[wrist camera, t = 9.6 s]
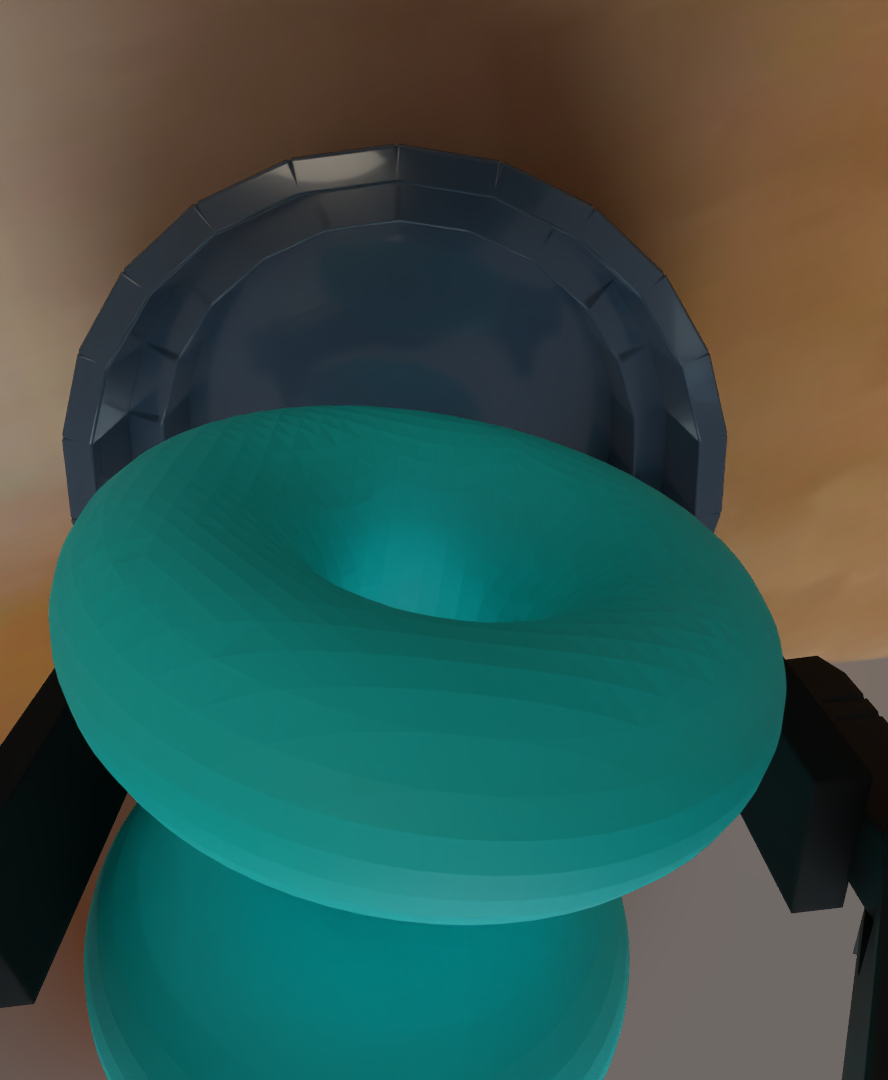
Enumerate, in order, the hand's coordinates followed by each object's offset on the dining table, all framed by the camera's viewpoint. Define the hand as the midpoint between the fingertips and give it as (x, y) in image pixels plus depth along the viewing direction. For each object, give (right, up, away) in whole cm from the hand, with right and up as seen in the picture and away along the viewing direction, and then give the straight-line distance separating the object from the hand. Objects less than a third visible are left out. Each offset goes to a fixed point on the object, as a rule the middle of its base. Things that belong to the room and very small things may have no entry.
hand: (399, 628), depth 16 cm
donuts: (0, +1, +1) cm, 1 cm away
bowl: (-1, +6, +10) cm, 12 cm away
